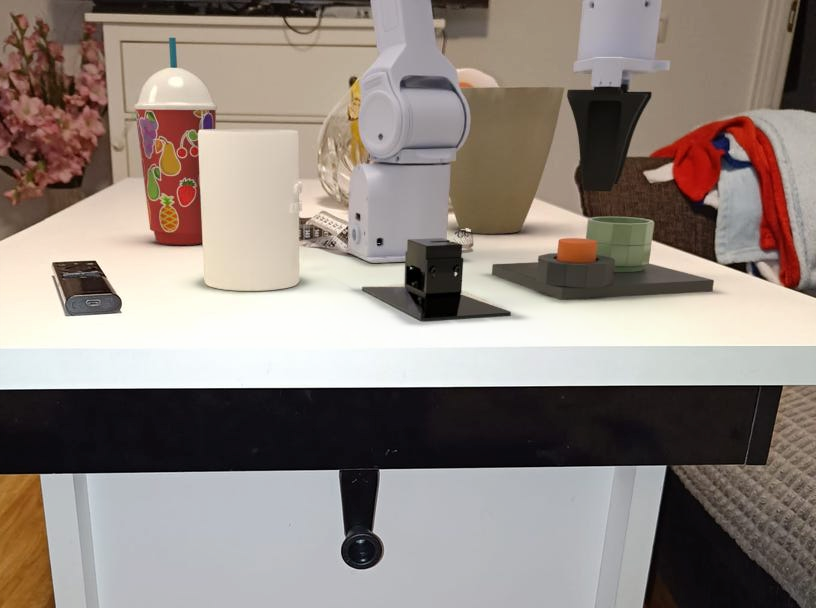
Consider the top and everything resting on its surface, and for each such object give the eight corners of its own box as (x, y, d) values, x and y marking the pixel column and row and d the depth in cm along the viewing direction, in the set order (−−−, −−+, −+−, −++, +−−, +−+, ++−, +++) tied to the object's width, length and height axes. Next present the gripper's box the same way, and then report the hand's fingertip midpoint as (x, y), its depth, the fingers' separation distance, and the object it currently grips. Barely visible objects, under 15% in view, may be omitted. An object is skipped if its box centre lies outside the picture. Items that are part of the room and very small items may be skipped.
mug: (283, 265, 86) (281, 127, 82) (311, 289, 76) (311, 131, 71) (194, 268, 84) (187, 127, 80) (210, 292, 74) (203, 131, 69)
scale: (559, 302, 71) (562, 265, 70) (486, 275, 82) (488, 243, 81) (716, 293, 75) (722, 258, 74) (627, 268, 86) (631, 238, 85)
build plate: (512, 318, 66) (517, 252, 65) (418, 325, 64) (420, 257, 62) (440, 286, 77) (442, 228, 75) (357, 291, 75) (358, 232, 73)
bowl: (605, 274, 78) (611, 224, 76) (571, 263, 82) (576, 217, 81) (660, 271, 79) (667, 222, 78) (623, 261, 84) (629, 215, 82)
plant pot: (479, 220, 122) (487, 88, 116) (576, 231, 112) (590, 87, 106) (400, 229, 112) (405, 86, 106) (498, 242, 102) (509, 85, 96)
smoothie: (237, 240, 102) (231, 39, 94) (186, 249, 95) (175, 33, 88) (179, 234, 106) (169, 41, 98) (127, 243, 99) (111, 36, 92)
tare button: (568, 266, 72) (571, 243, 71) (549, 260, 75) (551, 238, 74) (602, 265, 73) (605, 242, 72) (582, 259, 76) (584, 237, 75)
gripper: (678, -17, 62) (650, 196, 67) (679, 4, 74) (656, 182, 80) (570, -14, 64) (551, 192, 69) (589, 6, 77) (572, 179, 82)
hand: (601, 187), depth 74 cm, fingers open, 7 cm apart
